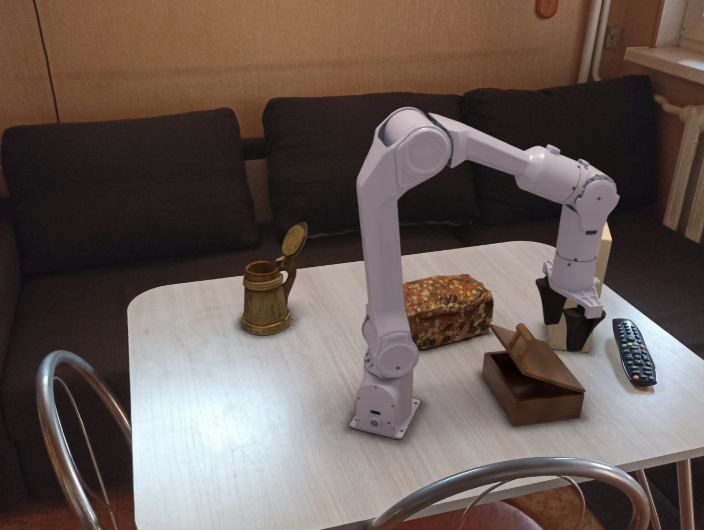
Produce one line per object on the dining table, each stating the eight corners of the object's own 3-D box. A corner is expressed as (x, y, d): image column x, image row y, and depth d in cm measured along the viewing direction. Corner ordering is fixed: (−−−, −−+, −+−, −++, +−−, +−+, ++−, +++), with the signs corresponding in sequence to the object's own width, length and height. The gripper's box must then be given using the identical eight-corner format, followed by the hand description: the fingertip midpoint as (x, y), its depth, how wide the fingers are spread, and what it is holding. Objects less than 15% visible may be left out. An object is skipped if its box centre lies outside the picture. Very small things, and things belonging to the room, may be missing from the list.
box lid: (522, 374, 97) (537, 351, 96) (488, 326, 109) (501, 305, 107) (584, 393, 101) (599, 371, 100) (544, 345, 113) (558, 324, 111)
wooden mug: (321, 321, 129) (318, 230, 120) (252, 340, 123) (244, 246, 114) (300, 300, 136) (296, 213, 126) (234, 318, 130) (225, 228, 121)
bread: (399, 358, 118) (400, 306, 113) (372, 328, 126) (373, 279, 121) (493, 335, 124) (499, 285, 119) (462, 308, 132) (466, 260, 127)
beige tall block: (593, 353, 118) (617, 239, 108) (549, 349, 119) (567, 236, 109) (589, 330, 125) (610, 220, 114) (547, 326, 126) (564, 217, 116)
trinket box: (513, 426, 102) (516, 402, 100) (481, 374, 113) (484, 352, 111) (580, 417, 103) (584, 394, 101) (542, 367, 115) (545, 345, 113)
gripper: (630, 273, 91) (612, 360, 98) (579, 230, 104) (565, 310, 111) (580, 278, 90) (565, 365, 97) (534, 234, 103) (523, 314, 109)
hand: (562, 336), depth 104 cm, fingers open, 7 cm apart
